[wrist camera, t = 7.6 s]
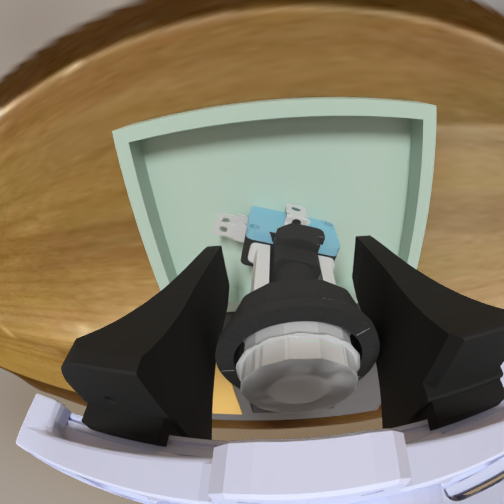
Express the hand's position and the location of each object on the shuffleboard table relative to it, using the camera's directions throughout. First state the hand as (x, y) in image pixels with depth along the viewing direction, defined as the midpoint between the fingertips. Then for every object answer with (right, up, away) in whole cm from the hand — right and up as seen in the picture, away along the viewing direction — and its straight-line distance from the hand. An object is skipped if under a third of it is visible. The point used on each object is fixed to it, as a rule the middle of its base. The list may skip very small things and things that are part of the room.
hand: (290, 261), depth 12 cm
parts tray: (0, +3, +5) cm, 6 cm away
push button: (0, +2, +5) cm, 5 cm away
